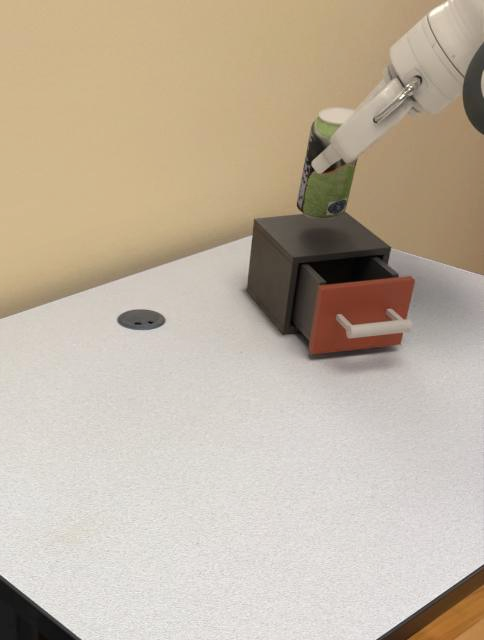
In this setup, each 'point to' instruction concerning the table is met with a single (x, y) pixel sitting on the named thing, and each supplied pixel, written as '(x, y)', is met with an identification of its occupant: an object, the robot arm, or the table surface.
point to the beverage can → (335, 182)
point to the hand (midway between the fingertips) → (322, 160)
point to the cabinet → (300, 256)
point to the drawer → (351, 304)
